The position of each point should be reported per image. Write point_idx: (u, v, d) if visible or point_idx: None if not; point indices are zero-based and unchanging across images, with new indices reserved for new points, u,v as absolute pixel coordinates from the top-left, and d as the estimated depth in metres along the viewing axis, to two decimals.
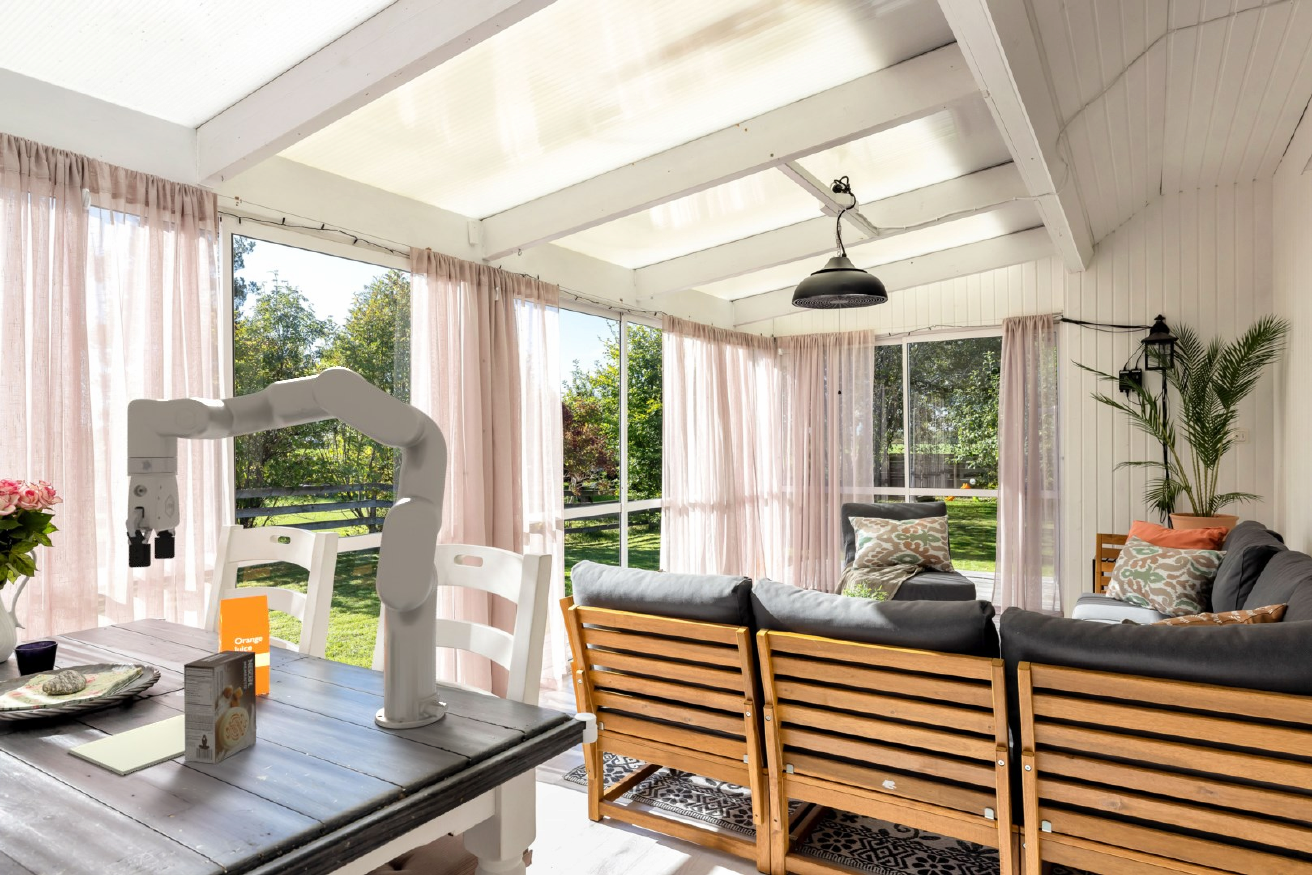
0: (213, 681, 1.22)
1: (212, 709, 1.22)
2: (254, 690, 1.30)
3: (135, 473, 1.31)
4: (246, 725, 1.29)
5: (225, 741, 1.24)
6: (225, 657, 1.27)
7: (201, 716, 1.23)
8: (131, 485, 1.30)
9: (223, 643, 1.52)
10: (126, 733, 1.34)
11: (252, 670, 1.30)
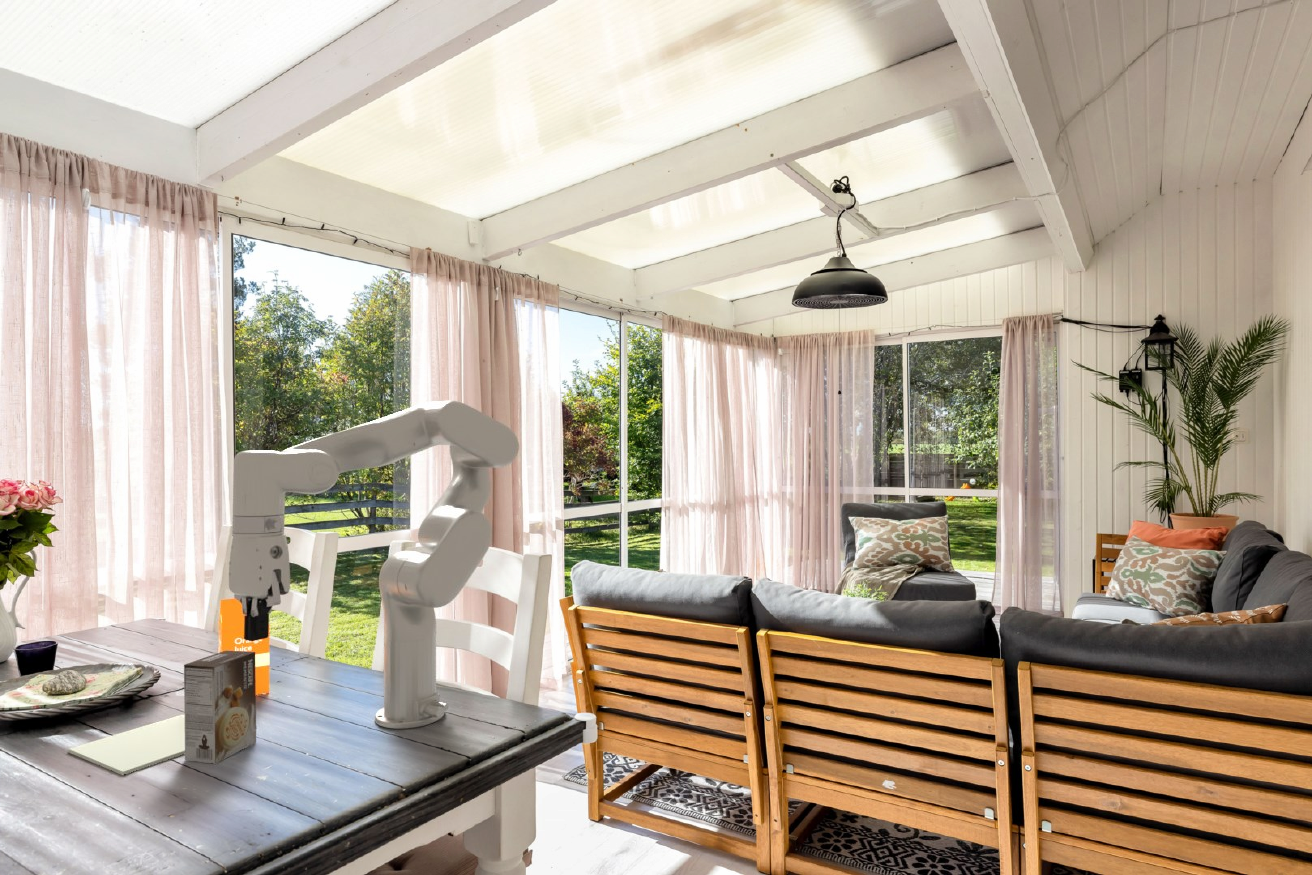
0: (213, 681, 1.22)
1: (212, 709, 1.22)
2: (254, 690, 1.30)
3: (264, 533, 1.19)
4: (246, 725, 1.29)
5: (224, 741, 1.24)
6: (225, 657, 1.27)
7: (201, 716, 1.23)
8: (265, 547, 1.19)
9: (223, 643, 1.52)
10: (126, 733, 1.34)
11: (252, 670, 1.30)
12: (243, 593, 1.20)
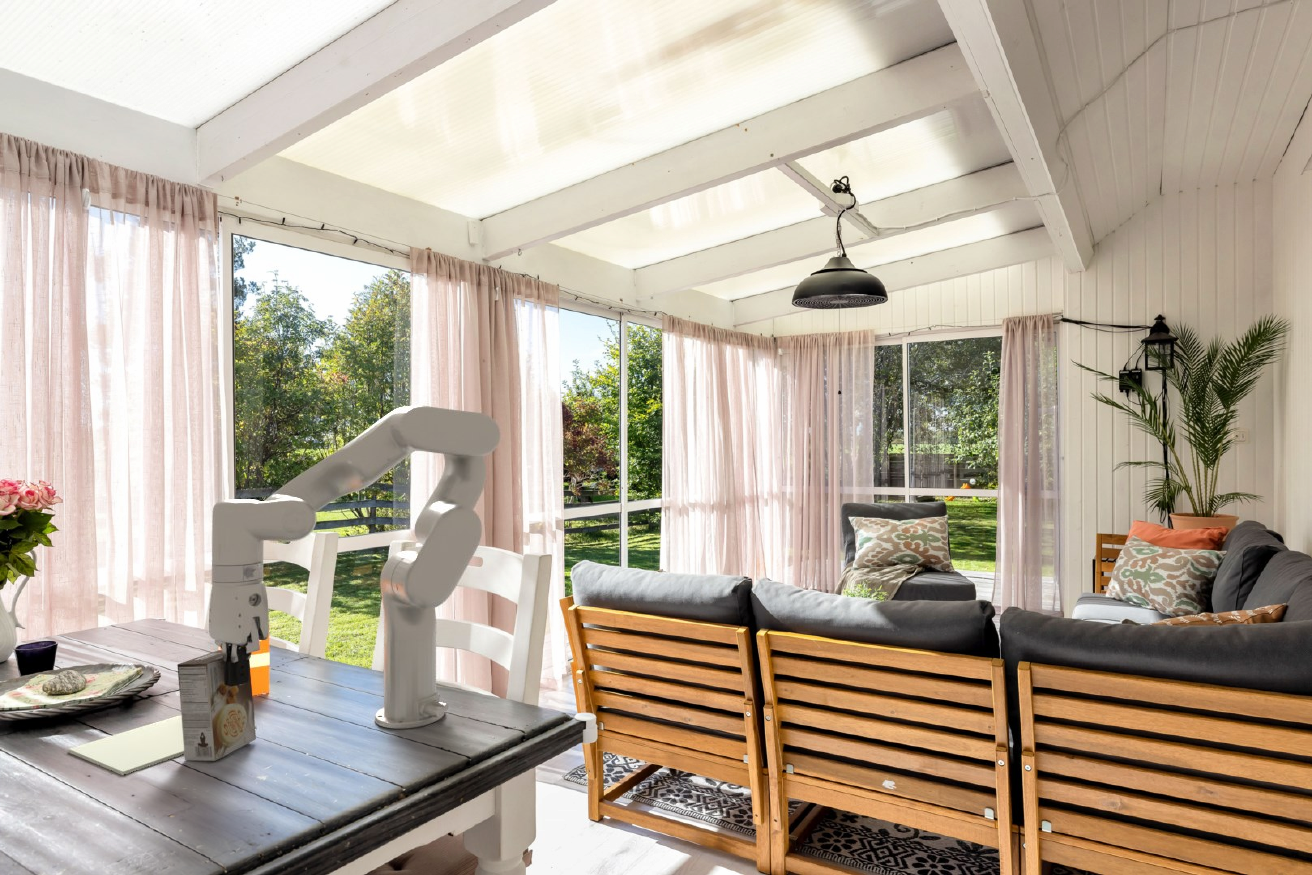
0: (207, 678, 1.23)
1: (208, 706, 1.22)
2: (250, 687, 1.31)
3: (243, 582, 1.22)
4: (245, 722, 1.29)
5: (223, 737, 1.24)
6: (218, 655, 1.27)
7: (198, 714, 1.23)
8: (244, 595, 1.22)
9: None
10: (126, 733, 1.34)
11: None
12: (223, 640, 1.23)
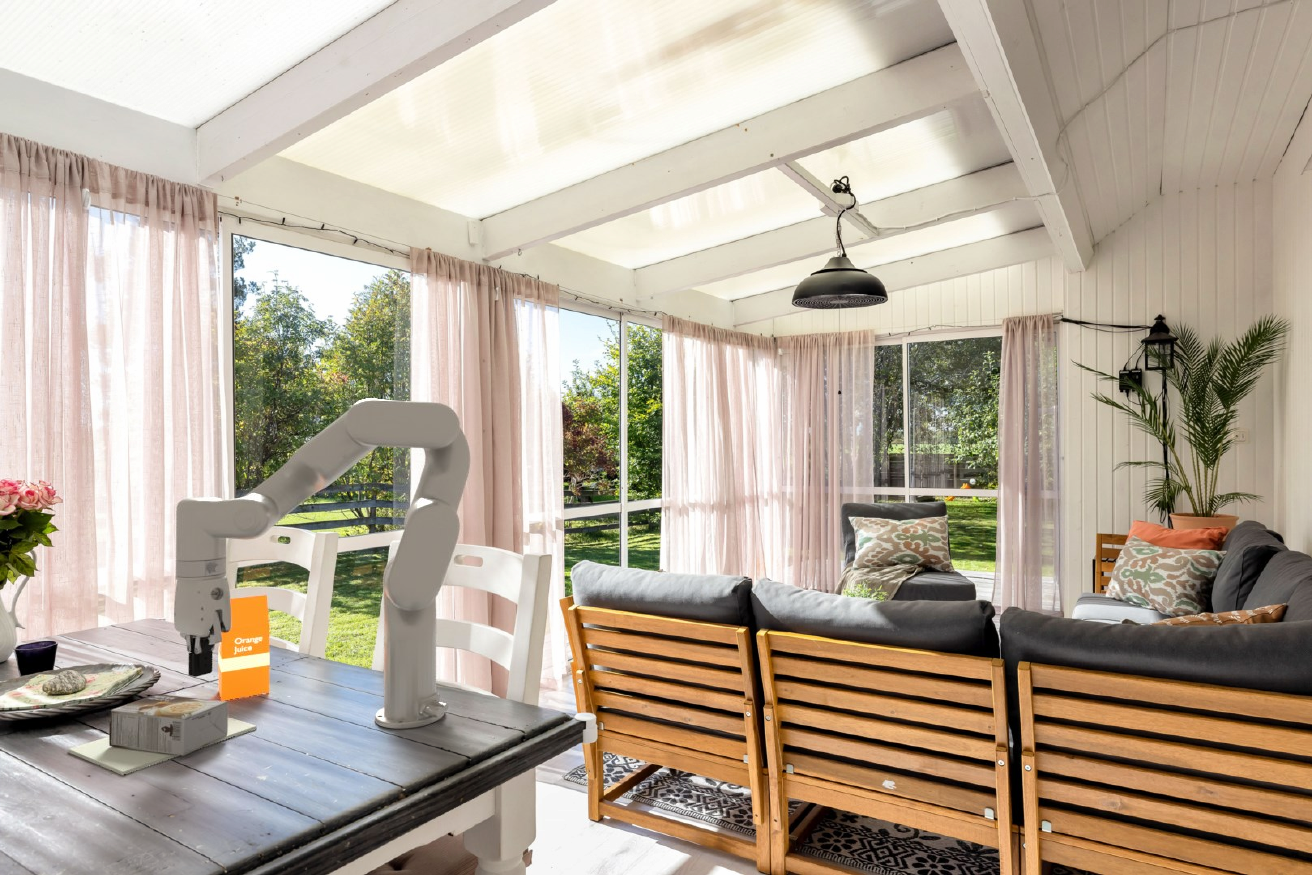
0: (121, 712, 1.27)
1: (142, 716, 1.26)
2: (184, 697, 1.34)
3: (205, 576, 1.28)
4: (199, 703, 1.31)
5: (179, 712, 1.26)
6: None
7: (147, 729, 1.25)
8: (206, 589, 1.27)
9: (223, 643, 1.52)
10: None
11: (165, 696, 1.35)
12: (187, 632, 1.29)
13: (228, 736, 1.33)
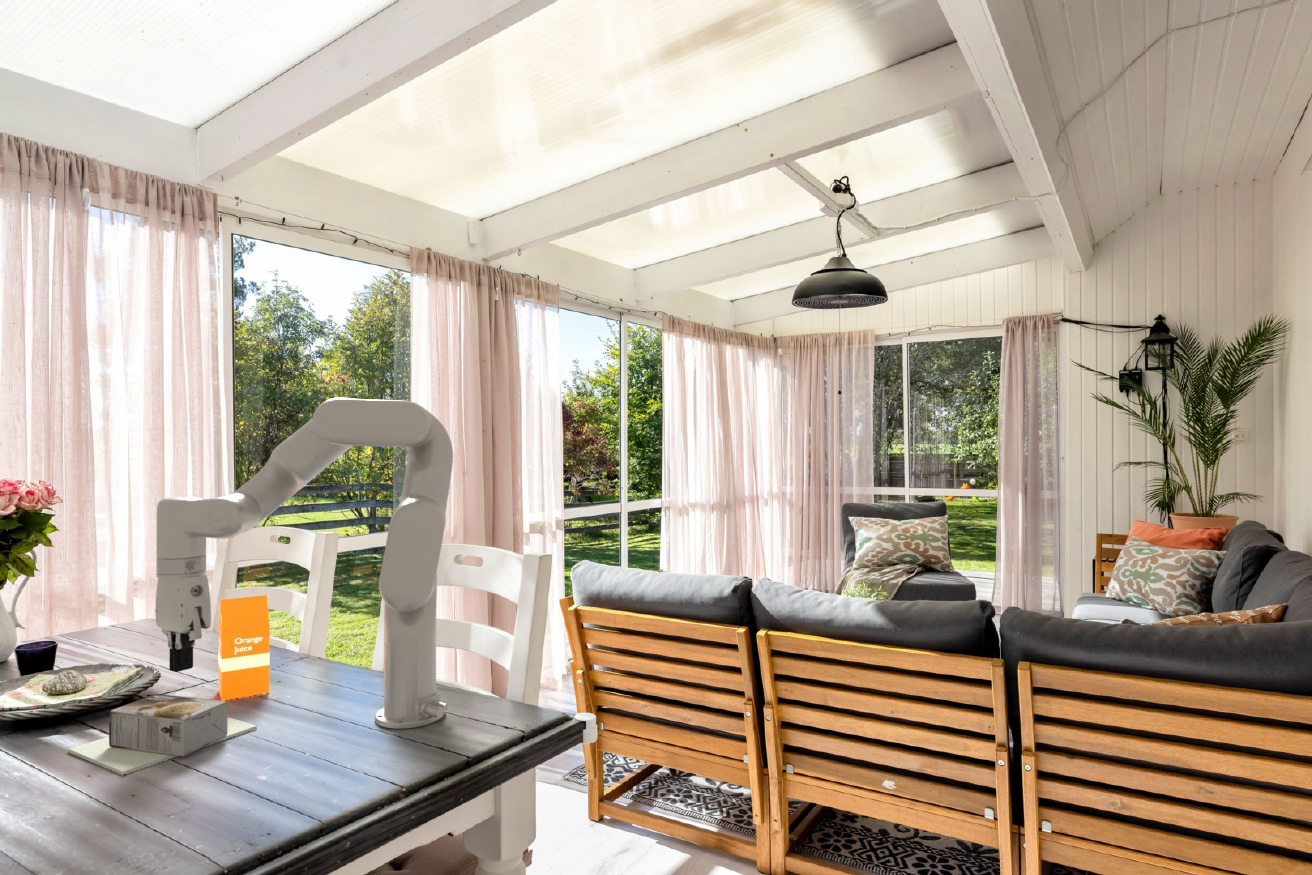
0: (120, 713, 1.27)
1: (141, 717, 1.26)
2: (184, 697, 1.34)
3: (185, 574, 1.31)
4: (199, 703, 1.31)
5: (179, 713, 1.26)
6: None
7: (147, 730, 1.25)
8: (186, 586, 1.30)
9: (223, 643, 1.52)
10: None
11: (165, 696, 1.35)
12: (168, 628, 1.32)
13: (228, 736, 1.33)
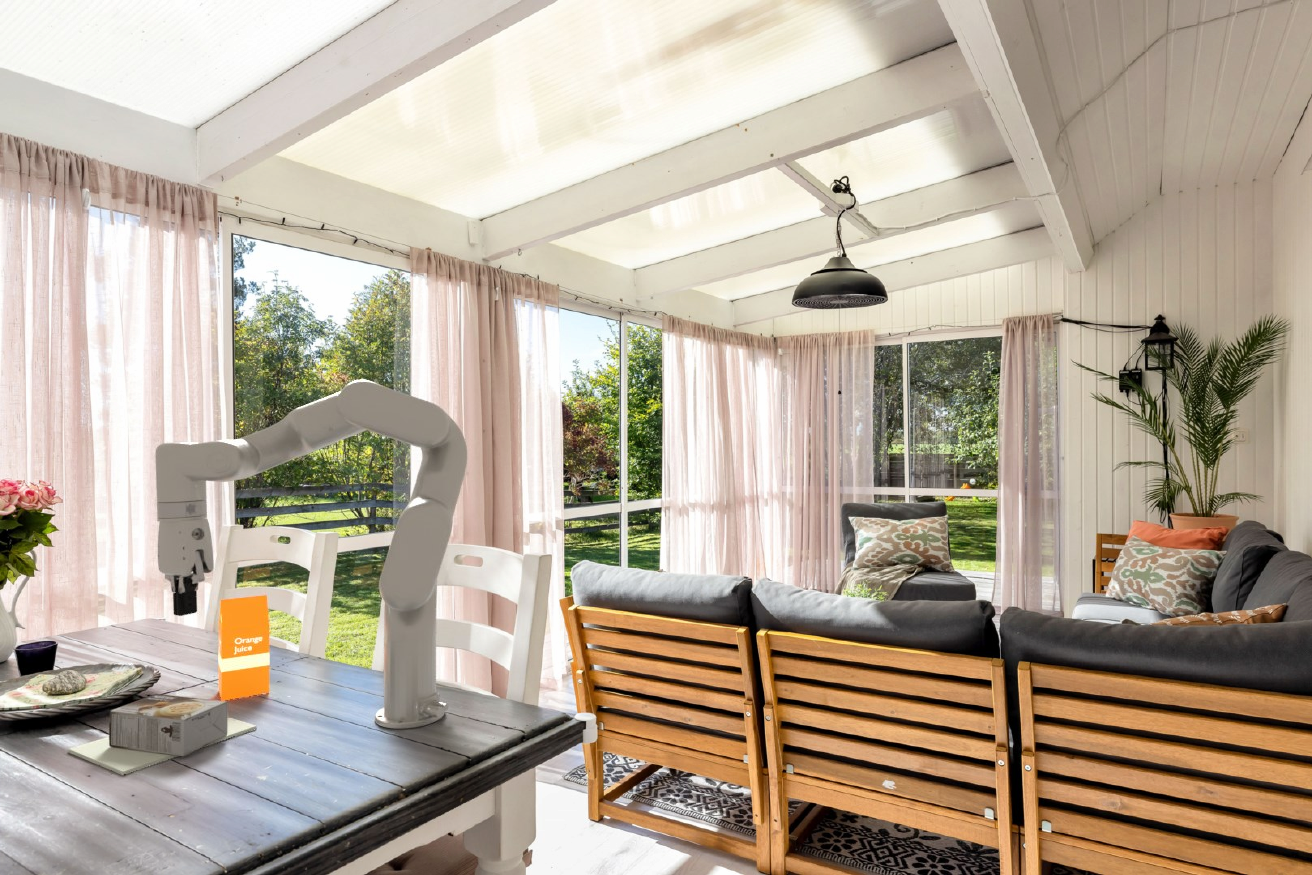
0: (120, 713, 1.27)
1: (141, 717, 1.26)
2: (184, 697, 1.34)
3: (186, 517, 1.31)
4: (199, 703, 1.31)
5: (179, 713, 1.26)
6: None
7: (147, 730, 1.25)
8: (187, 529, 1.30)
9: (223, 643, 1.52)
10: None
11: (165, 696, 1.35)
12: (170, 572, 1.32)
13: (228, 736, 1.33)
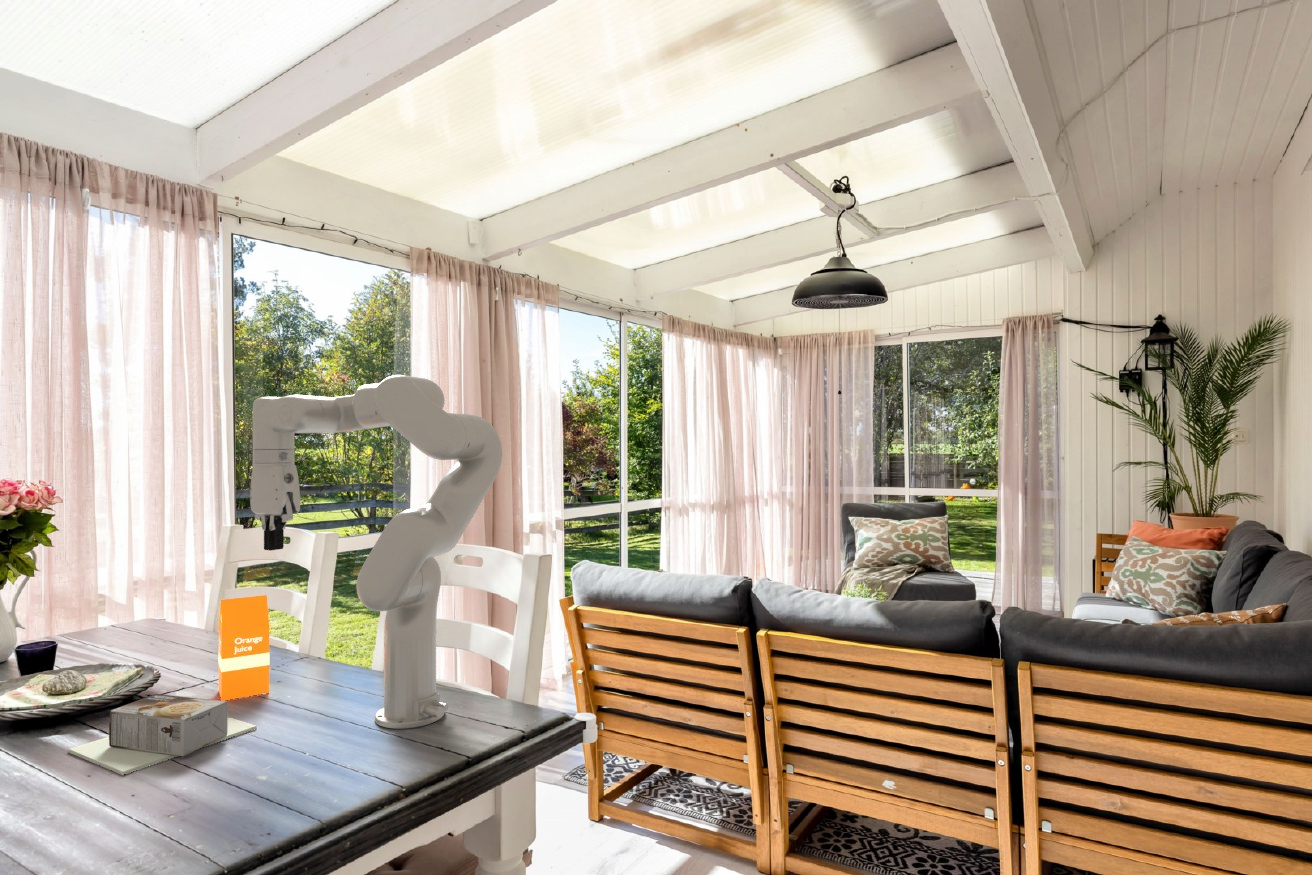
0: (120, 713, 1.27)
1: (141, 717, 1.26)
2: (184, 697, 1.34)
3: (278, 463, 1.48)
4: (199, 703, 1.31)
5: (179, 713, 1.26)
6: None
7: (147, 730, 1.25)
8: (280, 473, 1.48)
9: (223, 643, 1.52)
10: None
11: (165, 696, 1.35)
12: (262, 512, 1.49)
13: (228, 736, 1.33)
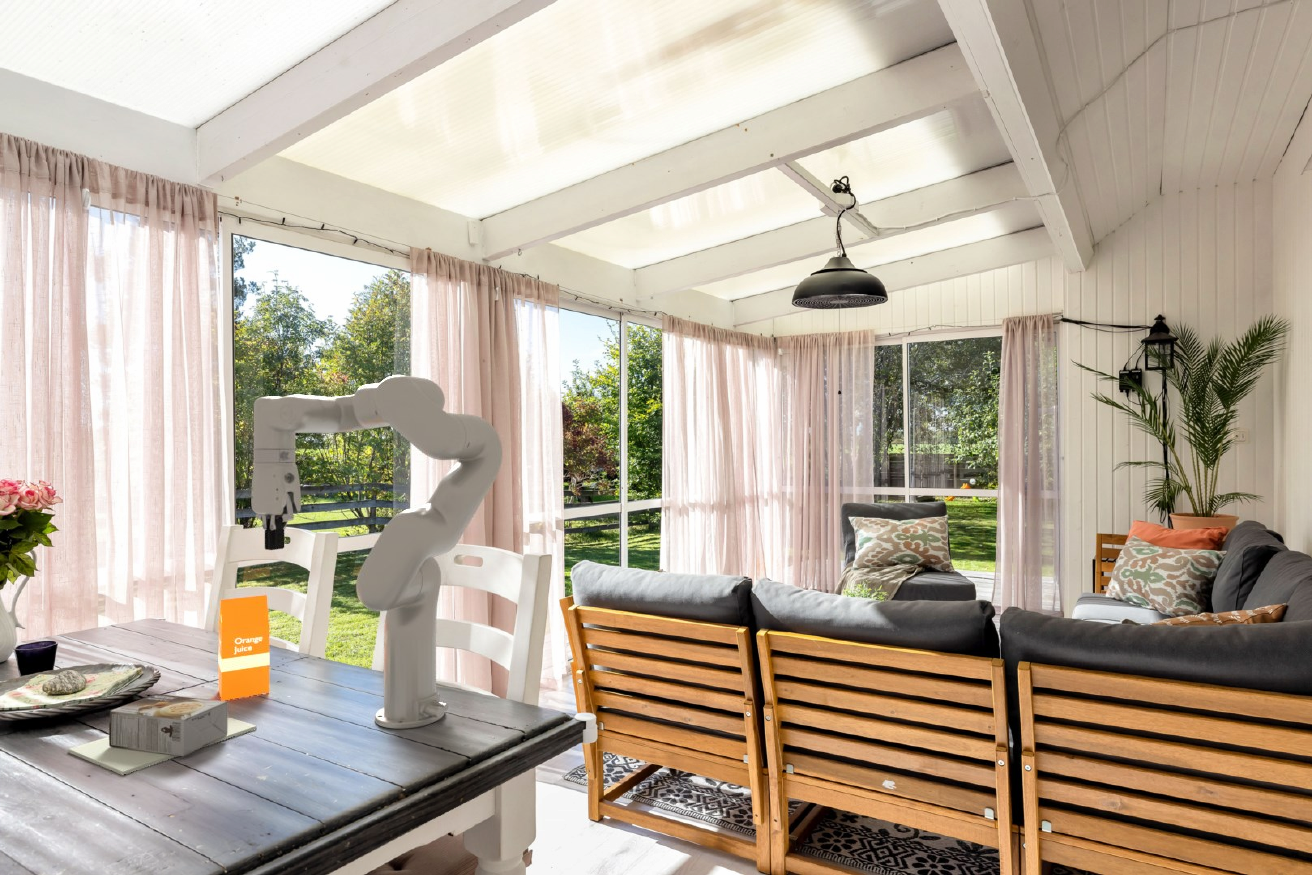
0: (120, 713, 1.27)
1: (141, 717, 1.26)
2: (184, 697, 1.34)
3: (279, 463, 1.48)
4: (199, 703, 1.31)
5: (179, 713, 1.26)
6: None
7: (147, 730, 1.25)
8: (281, 473, 1.48)
9: (223, 643, 1.52)
10: None
11: (165, 696, 1.35)
12: (263, 511, 1.50)
13: (228, 736, 1.33)
